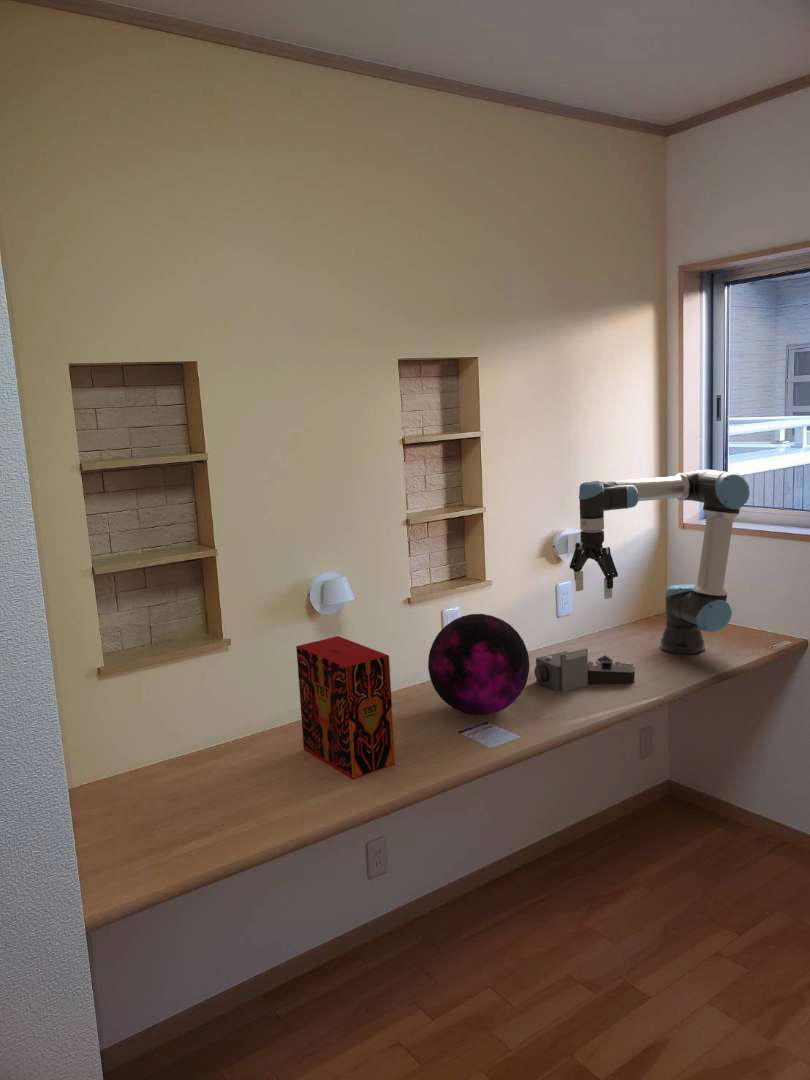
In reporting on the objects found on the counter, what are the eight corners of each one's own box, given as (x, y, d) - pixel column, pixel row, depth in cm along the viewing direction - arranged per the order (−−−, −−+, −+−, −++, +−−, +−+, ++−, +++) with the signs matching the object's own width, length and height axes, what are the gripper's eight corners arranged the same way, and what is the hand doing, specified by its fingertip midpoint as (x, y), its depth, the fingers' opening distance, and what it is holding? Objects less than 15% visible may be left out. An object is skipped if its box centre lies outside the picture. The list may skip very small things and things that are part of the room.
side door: (585, 686, 283) (585, 648, 280) (589, 687, 281) (588, 649, 279) (560, 692, 278) (560, 654, 276) (564, 694, 277) (563, 655, 274)
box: (303, 750, 245) (296, 646, 240) (344, 736, 253) (337, 636, 247) (352, 779, 225) (345, 667, 220) (394, 764, 233) (389, 655, 228)
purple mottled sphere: (409, 716, 266) (405, 619, 261) (472, 687, 287) (469, 598, 282) (489, 740, 246) (486, 636, 240) (550, 707, 267) (548, 611, 262)
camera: (632, 683, 289) (633, 653, 288) (635, 690, 280) (637, 659, 279) (582, 681, 291) (583, 651, 290) (585, 688, 282) (586, 657, 281)
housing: (565, 677, 293) (565, 648, 291) (587, 686, 283) (587, 657, 282) (532, 685, 287) (531, 656, 285) (553, 695, 277) (553, 665, 276)
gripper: (557, 527, 293) (559, 589, 297) (610, 536, 272) (612, 603, 276) (574, 524, 297) (576, 585, 301) (628, 533, 276) (629, 599, 280)
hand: (593, 594), depth 289 cm, fingers open, 13 cm apart
